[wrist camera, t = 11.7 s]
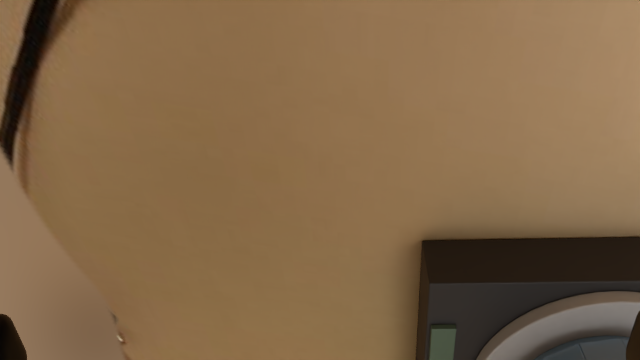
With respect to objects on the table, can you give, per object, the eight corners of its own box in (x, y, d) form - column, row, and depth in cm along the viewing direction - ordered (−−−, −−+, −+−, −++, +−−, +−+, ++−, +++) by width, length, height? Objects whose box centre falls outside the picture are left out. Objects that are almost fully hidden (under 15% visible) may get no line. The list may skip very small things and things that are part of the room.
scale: (413, 405, 28) (419, 465, 26) (422, 240, 23) (431, 296, 20) (675, 405, 28) (707, 467, 25) (748, 234, 22) (800, 291, 20)
